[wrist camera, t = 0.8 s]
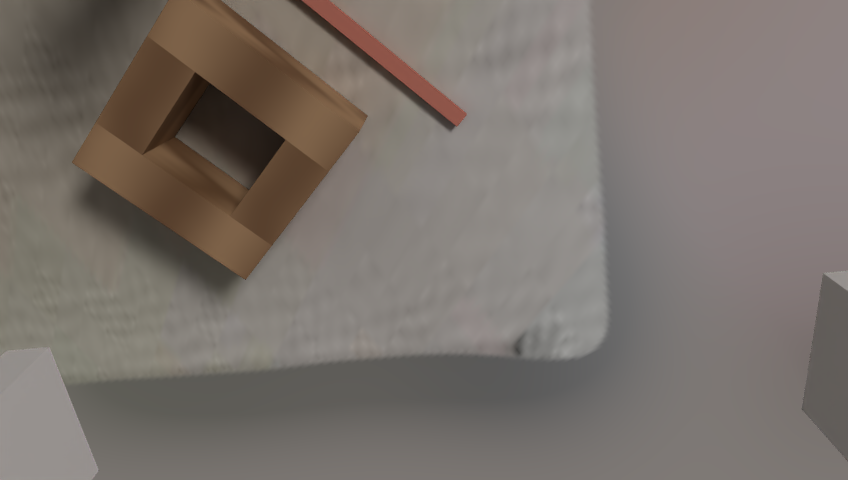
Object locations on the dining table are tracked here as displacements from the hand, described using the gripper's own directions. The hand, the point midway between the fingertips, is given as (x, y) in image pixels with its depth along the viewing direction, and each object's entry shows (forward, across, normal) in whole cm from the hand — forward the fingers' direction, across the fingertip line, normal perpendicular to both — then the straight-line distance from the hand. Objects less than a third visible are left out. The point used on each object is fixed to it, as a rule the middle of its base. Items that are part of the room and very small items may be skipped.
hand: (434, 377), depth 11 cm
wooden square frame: (+24, -10, 0) cm, 26 cm away
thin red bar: (+24, -3, +4) cm, 25 cm away
